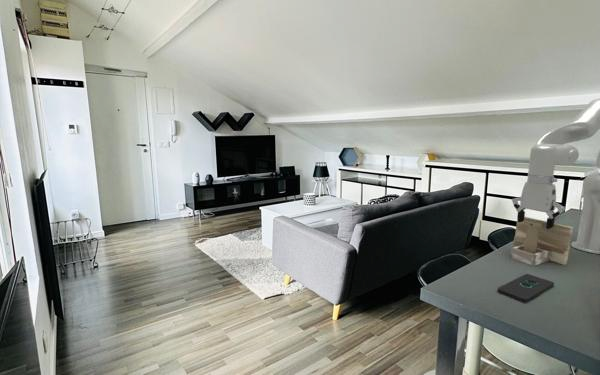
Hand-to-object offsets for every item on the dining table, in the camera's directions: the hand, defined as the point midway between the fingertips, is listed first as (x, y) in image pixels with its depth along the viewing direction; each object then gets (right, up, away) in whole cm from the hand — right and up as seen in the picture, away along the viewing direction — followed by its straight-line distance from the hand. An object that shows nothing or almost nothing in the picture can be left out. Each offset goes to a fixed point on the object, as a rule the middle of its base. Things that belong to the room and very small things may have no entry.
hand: (534, 224), depth 124 cm
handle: (-1, -14, +2) cm, 14 cm away
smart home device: (-18, -18, -21) cm, 33 cm away
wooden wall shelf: (+1, -13, +3) cm, 14 cm away
